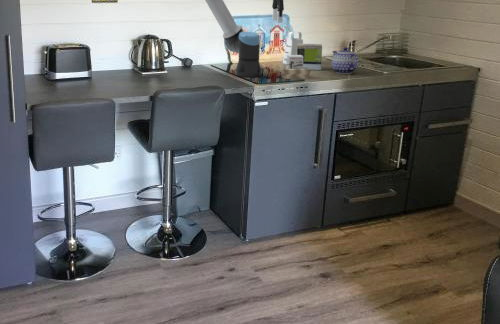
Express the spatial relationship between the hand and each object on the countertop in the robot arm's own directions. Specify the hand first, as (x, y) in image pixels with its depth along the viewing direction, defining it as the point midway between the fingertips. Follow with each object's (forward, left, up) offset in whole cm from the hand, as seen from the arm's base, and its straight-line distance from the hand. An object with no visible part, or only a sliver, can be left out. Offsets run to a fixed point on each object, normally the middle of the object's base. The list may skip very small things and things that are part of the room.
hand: (277, 21), depth 340 cm
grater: (+17, +16, -28) cm, 37 cm away
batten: (+3, -32, -28) cm, 42 cm away
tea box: (+21, -2, -28) cm, 35 cm away
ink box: (+4, -26, -28) cm, 38 cm away
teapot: (+38, -17, -28) cm, 50 cm away
